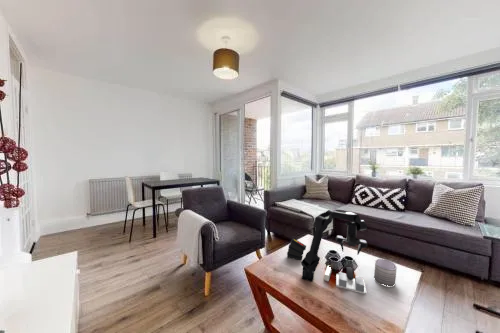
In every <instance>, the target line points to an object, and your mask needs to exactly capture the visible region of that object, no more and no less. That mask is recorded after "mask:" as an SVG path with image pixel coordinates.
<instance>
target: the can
mask: <svg viewBox="0 0 500 333" xmlns="http://www.w3.org/2000/svg"><path fill="white" fill-rule="evenodd" d="M397 269H398V266H397V265H396V263H394V262H393V261H391V260H388V259H384V258H378V259H375V260H374V273H373V274H374V276H373V279H374V278H375V280H376V281H377V282H378V283H380V284H384V285H386V286H387V285H388V286H393V285H394V284H395V285H396V280H397V279H396V278H397ZM375 280H374V281H375ZM376 281H375V282H376ZM377 282H376V283H377ZM378 283H377V284H378ZM380 284H379V285H380Z"/></svg>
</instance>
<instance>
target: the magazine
mask: <svg viewBox="0 0 500 333" xmlns="http://www.w3.org/2000/svg"><path fill="white" fill-rule="evenodd" d="M306 249H307V245H305V244H304V243H302V242H301V241H299V240H297V239H295V238H294V237H293V238H291V241H290V243H289V244H288V249H287V252H286V256H287V257H286V258H287V259H291V260H298V261H302V260H303V258H304V257H303V255H304V251H306Z"/></svg>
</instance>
